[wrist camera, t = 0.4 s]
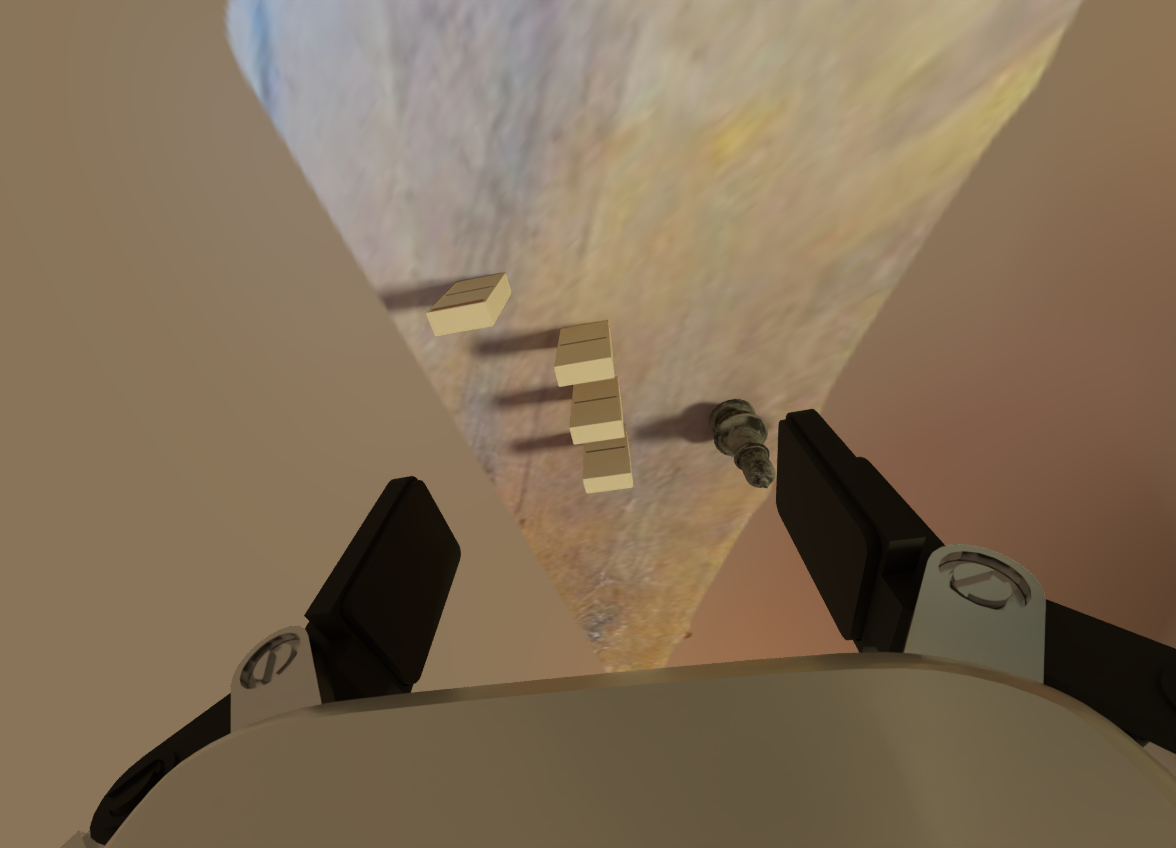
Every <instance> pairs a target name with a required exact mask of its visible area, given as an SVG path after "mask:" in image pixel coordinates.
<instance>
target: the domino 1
mask: <svg viewBox="0 0 1176 848" xmlns="http://www.w3.org/2000/svg"><path fill="white" fill-rule="evenodd" d="M510 295H511V290H510V286H509V283H508V279H507V276H506V273H500V274H495V275H490V276H485V277H480V278H475V279H470V280H465V281H460V282H456V283H455V284H454V285H453V286H452V287H451V288H450V289H449V290H448V291H447V292H446V293H445V294H444V295H443V296H442V297H441V298H440V299H439V300H438V301H437V302H436V303H435V304H434V305H433V306H432V307H431V308H430V309H429V310H428V311H427V312H426V315H427V317H428V319H429V322H430V324H431V327H432V329H433V331H434V334H435V336H440V335H446V334H451V333H457V332H462V331H468V330H473V329H479V328H484V327H490V326H494V324H495V322H496V320H497V318H498V316H499V315H500V313H501V311H502V309H503V307H504V306H505V304H506V302H507V300H508V298H509V297H510Z"/></svg>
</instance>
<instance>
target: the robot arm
mask: <svg viewBox="0 0 1176 848" xmlns="http://www.w3.org/2000/svg"><path fill="white" fill-rule="evenodd" d="M776 504H777V509H778V512H779V515H780V517H781V519H782V521H783V522H784V525H785V526H786V528H787V530H788V532H789V534H790V536H791V538H792V540H793V542H794V544H795V546H796V548H797V550H798V552H799V554H800V556H801V558H802V560H803V561H804V563H805V565H806V567H807V569H808V571H809V573H810V575H811V577H812V579H813V581H814V583H815V585H816V586H817V589H818V590H819V592H820V594H821V596H822V598H823V600H824V602H825V604H826V606H827V608H828V610H829V612H830V614H831V616H832V618H833V619H834V621H835V623H836V625H837V627H838V629H839V631H840V633H841V635H842V636H843V637H844V639H846V640H853V641H854V643H855V645H856V647H857V648H858V651H859V652H860V653H837V654H823V655H811V656H796V657H783V658H770V659H758V660H757V659H756V660H745V661H735V662H725V663H712V664H702V665H691V666H680V667H669V668H658V669H647V670H636V671H626V672H615V673H605V674H594V675H584V676H573V677H564V678H553V679H543V680H532V681H523V682H513V683H502V684H492V685H482V686H474V687H473V686H472V687H463V688H453V689H443V690H434V691H424V692H414V693H411V690H412V687H413V684H414V683H416V682H418V680H419V679H420V677H421V674H422V671H423V668H424V665H425V662H426V659H427V656H428V653H429V650H430V647H431V644H432V641H433V638H434V635H435V632H436V630H437V627H438V624H439V621H440V618H441V615H442V611H443V609H444V606H445V602H446V600H447V597H448V594H449V591H450V588H451V585H452V582H453V579H454V576H455V573H456V570H457V567H458V564H459V561H460V557H461V551H460V546H459V544H458V542H457V541H456V539H455V537H454V535H453V533H452V532H451V530H450V528H449V526H448V524H447V523H446V521H445V519H444V517H443V515H442V514H441V512H440V510H439V508H438V507H437V505H436V503H435V501H434V500H433V498H432V496H431V494H430V492H429V490H428V489H427V487H426V485H425V483H424V482H423V481H421V480H418V479H417V478H416V477H414V476H409V477H404V478H398V479H393V480H391V481H390V482H389V483H388V484H387V486H386V488H385V489H384V491H383V492H382V494H381V495H380V497H379V498H378V500H377V502H376V503H375V505H374V506H373V508H372V510H371V511H370V513H369V514H368V516H367V517H366V519H365V521H364V522H363V524H362V526H361V527H360V528H359V530H358V532H357V533H356V535H355V536H354V538H353V539H352V541H351V543H350V544H349V546H348V547H347V549H346V551H345V552H344V554H343V555H342V557H341V558H340V560H339V562H338V563H337V565H336V566H335V568H334V569H333V571H332V573H331V574H330V576H329V577H328V579H327V580H326V582H325V584H324V585H323V587H322V588H321V590H320V591H319V593H318V595H317V596H316V598H315V599H314V601H313V602H312V604H311V606H310V607H309V609H308V611H307V612H306V614H305V615H304V616H305V617H306V618H307V619H308V620H309V623H308V624H307V626H306V628H305V629H304V628H302V627H300V626H290V627H287V628H284V629H281V630H278V631H277V632H275V633H273V634H271V635H269V636H268V637H266V638H265V639H264V640H262V641H261V642H260V643H258V644H257V645H256V646H255V647H254V648H253V649H252V650H251V651H250V652H249V653H248V654H247V655H246V656H245V658H244V659H243V660H242V662H241V663H240V664H239V666H238V667H237V669H236V671H235V673H234V675H233V679H232V683H231V693H230V694H228V695H227V696H226V697H224V698H223V699H222V700H220V701H219V702H217V703H216V704H215V705H213V706H212V707H211V708H209V709H208V710H207V711H205V712H204V713H202V714H201V715H200V716H198V717H197V718H195V719H194V720H193V721H191V722H190V723H189V724H187V725H186V726H185V727H183V728H182V729H180V730H179V731H178V732H176V733H175V734H174V735H172V736H171V737H169V738H168V739H167V740H166V741H164V742H163V743H161V744H160V745H159V746H157V747H156V748H154V749H153V750H152V751H150V752H149V753H148V754H146V755H145V756H144V757H142V758H141V759H140V760H139V761H137V762H136V763H135V764H134V765H133V766H131V767H130V768H129V769H128V770H127V771H126V772H125V773H124V774H123V775H122V776H121V777H120V778H119V779H118V780H117V781H116V782H115V783H114V785H113V786H112V787H111V789H110V790H109V791H108V793H107V794H106V795H105V796H104V798H103V799H102V801H101V803H100V804H99V806H98V808H97V810H96V812H95V814H94V816H93V819H92V822H91V825H90V831H89V832H88V833H84V832H81V831H78V832H77V833H76V834H75V835H73V836H72V837H71V838H70V839H69V840H68V841H67V842H66V843H65V844H64V845H63V846H62V847H61V848H1176V649H1175V648H1172V647H1170V646H1167V645H1164V644H1162V643H1159V642H1156V641H1154V640H1151V639H1149V638H1146V637H1143V636H1140V635H1138V634H1135V633H1133V632H1130V631H1128V630H1125V629H1123V628H1120V627H1117V626H1115V625H1112V624H1109V623H1106V622H1104V621H1102V620H1099V619H1096V618H1094V617H1091V616H1088V615H1086V614H1083V613H1080V612H1078V611H1075V610H1073V609H1070V608H1067V607H1065V606H1062V605H1060V604H1057V603H1054V602H1052V601H1049V600H1047V599H1045V595H1044V591H1043V588H1042V586H1041V585H1040V584H1039V582H1038V581H1037V579H1036V578H1035V577H1034V576H1033V575H1032V574H1031V573H1030V572H1029V571H1027V570H1026V569H1025V568H1024V567H1023V566H1022V565H1020V564H1018V563H1017V562H1015V561H1013V560H1012V559H1010V558H1008V557H1006V556H1005V555H1002V554H1000V553H997V552H994V551H992V550H989V549H986V548H982V547H977V546H972V545H957V544H954V545H949V546H945V545H944V544H943V543H942V541H941V540H940V539H939V538H938V537H937V536H936V535H935V534H934V533H933V531H932V530H931V529H930V528H929V527H928V526H927V525H926V524H925V523H924V521H923V520H922V519H921V518H920V517H919V516H918V515H917V514H916V513H915V511H914V510H913V509H912V508H911V507H910V506H909V505H908V504H907V503H906V502H905V500H904V499H903V498H902V497H901V496H900V495H899V494H898V493H897V492H896V490H895V489H894V488H893V487H892V486H891V485H890V484H889V483H888V482H887V480H886V479H885V478H884V477H883V476H882V475H881V474H880V473H879V472H878V471H877V469H876V468H875V467H874V466H873V465H872V464H871V463H870V462H869V461H868V460H867V459H865V458H863V457H856V456H855V455H854V454H853V453H852V451H851V450H850V449H849V448H848V447H847V446H846V445H845V443H844V442H843V441H842V440H841V439H840V438H839V437H838V436H837V434H836V433H835V432H834V431H833V430H832V429H831V427H829V425H828V424H827V423H826V422H825V421H824V419H823V418H822V417H821V416H820V415H819V414H818V412H817V411H815V410H814V409H809V410H803V411H797V412H791V413H788V414H787V416H786V419H785V420H780V422H779V429H778V457H777V486H776Z"/></svg>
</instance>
